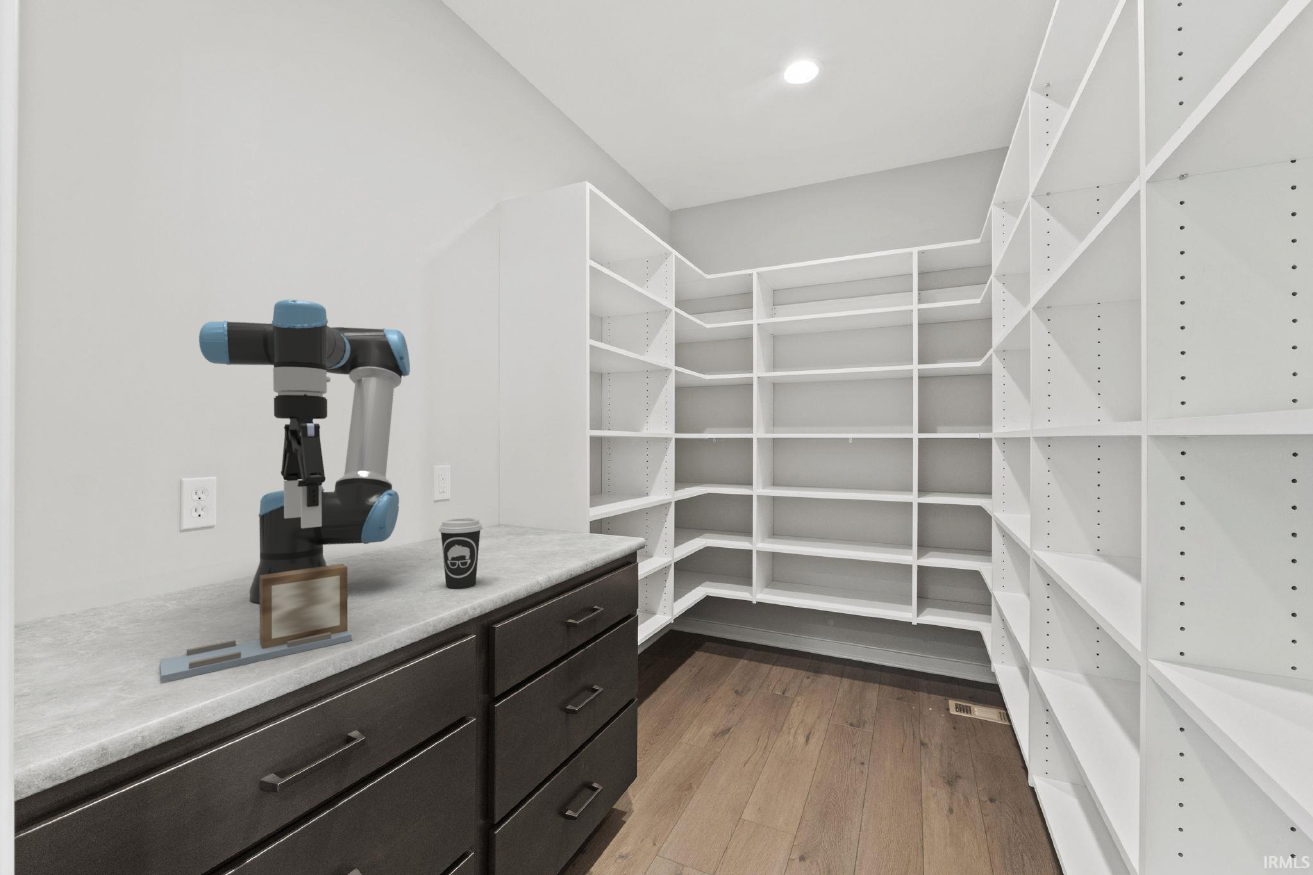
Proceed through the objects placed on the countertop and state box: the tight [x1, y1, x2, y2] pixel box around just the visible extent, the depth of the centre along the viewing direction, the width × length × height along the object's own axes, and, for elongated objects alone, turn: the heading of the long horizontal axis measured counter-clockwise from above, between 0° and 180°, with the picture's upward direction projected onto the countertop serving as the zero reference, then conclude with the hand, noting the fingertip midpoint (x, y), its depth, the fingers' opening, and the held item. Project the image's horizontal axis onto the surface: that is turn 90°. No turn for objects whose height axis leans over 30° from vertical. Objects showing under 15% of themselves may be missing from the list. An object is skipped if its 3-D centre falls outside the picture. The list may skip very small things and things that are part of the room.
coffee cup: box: [438, 517, 483, 590], centre depth 129 cm, size 10×10×15 cm
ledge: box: [159, 630, 353, 684], centre depth 89 cm, size 8×24×2 cm, turn 132°
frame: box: [259, 563, 349, 649], centre depth 93 cm, size 12×3×11 cm, turn 132°
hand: (302, 522), depth 93 cm, fingers open, 13 cm apart
